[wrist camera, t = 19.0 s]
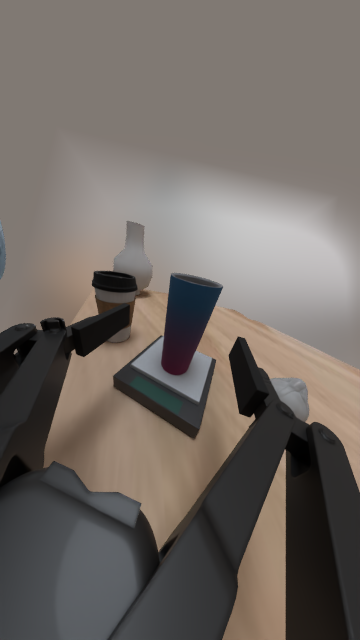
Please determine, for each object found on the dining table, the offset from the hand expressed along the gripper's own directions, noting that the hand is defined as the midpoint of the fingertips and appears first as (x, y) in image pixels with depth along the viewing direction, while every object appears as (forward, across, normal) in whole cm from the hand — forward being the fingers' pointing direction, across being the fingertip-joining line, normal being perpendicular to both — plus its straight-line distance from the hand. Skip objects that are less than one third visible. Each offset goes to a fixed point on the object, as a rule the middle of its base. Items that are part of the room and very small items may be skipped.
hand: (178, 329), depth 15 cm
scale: (+4, 0, -13) cm, 13 cm away
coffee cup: (+10, -16, -13) cm, 23 cm away
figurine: (+4, +18, -13) cm, 23 cm away
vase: (+42, -32, -13) cm, 54 cm away
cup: (+4, 0, -10) cm, 11 cm away
